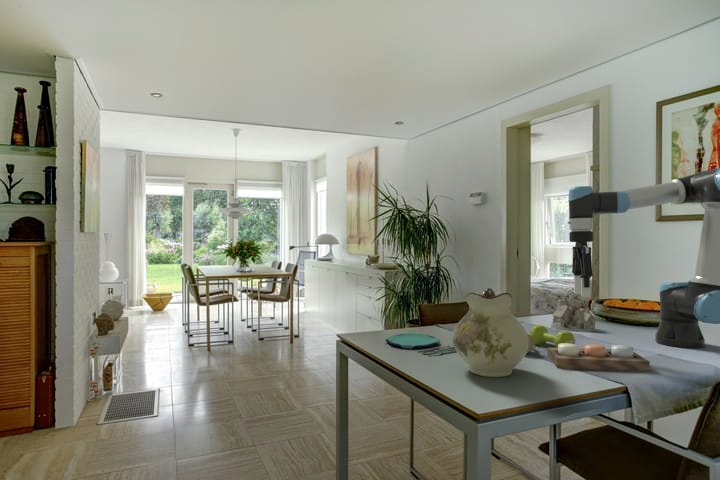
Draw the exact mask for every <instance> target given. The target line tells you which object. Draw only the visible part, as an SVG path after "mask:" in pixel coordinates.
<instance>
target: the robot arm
mask: <svg viewBox="0 0 720 480" xmlns="http://www.w3.org/2000/svg"><path fill="white" fill-rule="evenodd" d="M671 203H672V204H674V205H682V204H692V203H693V204H699V205H700V206H701V208H703V209H704V213H703V214H704V215H703V218H702V219H703V220H702V228H701V232H700V240H699V247H698V251H697V260H696V265H695V273H694V276H693V277H692V278H691V279H688V282H687V281H685V282H683V281H681V282H663V283H661V284H660V285H659V286H660V287H659V308H660V309H659V311H660V314H659V315H660V322H659V325H658V327H657V330H656V333H655V340H654V341H655V342H656V343H657V344H660V345H661V344H662V345H666V346H670V347H675V348H676V347H678V348H689V349H690V348H691V349H692V348H693V349H698V348H703V347H705V346H706V342H705V341H706V340H705V337H704V335H703V332H702V329H701V327H700V325H699V322H701V323H705V324H712V325H719V324H720V167H717V168H713V169H709V170H707V169H706V170H703V171H698V172H696V173H692V174H690V175H687V176H682V177H679V178H678V177H677V178H673V179H671V180H670V181H669V182H663V183H659V184H654V185H648V186H647V185H646V186H642V187H640V186H639V187H635V188H629V189H623V190H617V191H602V192H601V191H600V192H598V191H594V189H593V187H592V186H589V185H588V186H587V185H583V186H582V185H581V186H578V185H577V186H574V187H570V189H569V191H568V215H569V217H568V219H569V221H567V225H569V227H568V229H569V230H570V232H569V233H568V234H569V235H568V236H569V242H570V243H575V246H572V248H571V250H572V263H571V264H572V267H571V268H572V269H571V272H572V275H573V283H574V284H573V287H574V288H573V290H574V291H573V293H574V295H581V298H591V295H592V290H591V283H592V282H591V278H592V277H593V276H594V273H593V262H592V247H591V246H589V245H588V243H591V242H594V231H592V230H593V229H594V216H597V215H599V216H600V215H607V214H617V215H618V214H623V213H627V211H629V210H634V209H642V208H646V207H647V208H648V207H653V206H659V205H664V204H671Z"/></svg>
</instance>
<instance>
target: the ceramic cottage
mask: <svg viewBox="0 0 720 480" xmlns="http://www.w3.org/2000/svg"><path fill="white" fill-rule="evenodd" d="M552 317H553V318H552V322H551V323H550V328H551V329H555V330H560V331H568V332H581V333H584V332H585V333H589V332H591V333H592V332H596V331H597V328H596V322H597V319H596V317H595V316H593V315H592V313H591V311H590V308H589V307H588V308H582V306H581V305H580V303H579V301H578V299H575V297H574V295H573V294H570V297H569V298H568V300H567V301H566V304H565V305H564V302H563V300H562V299H558V300H557V304H556V309H555V311H554V312H553V314H552Z"/></svg>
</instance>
